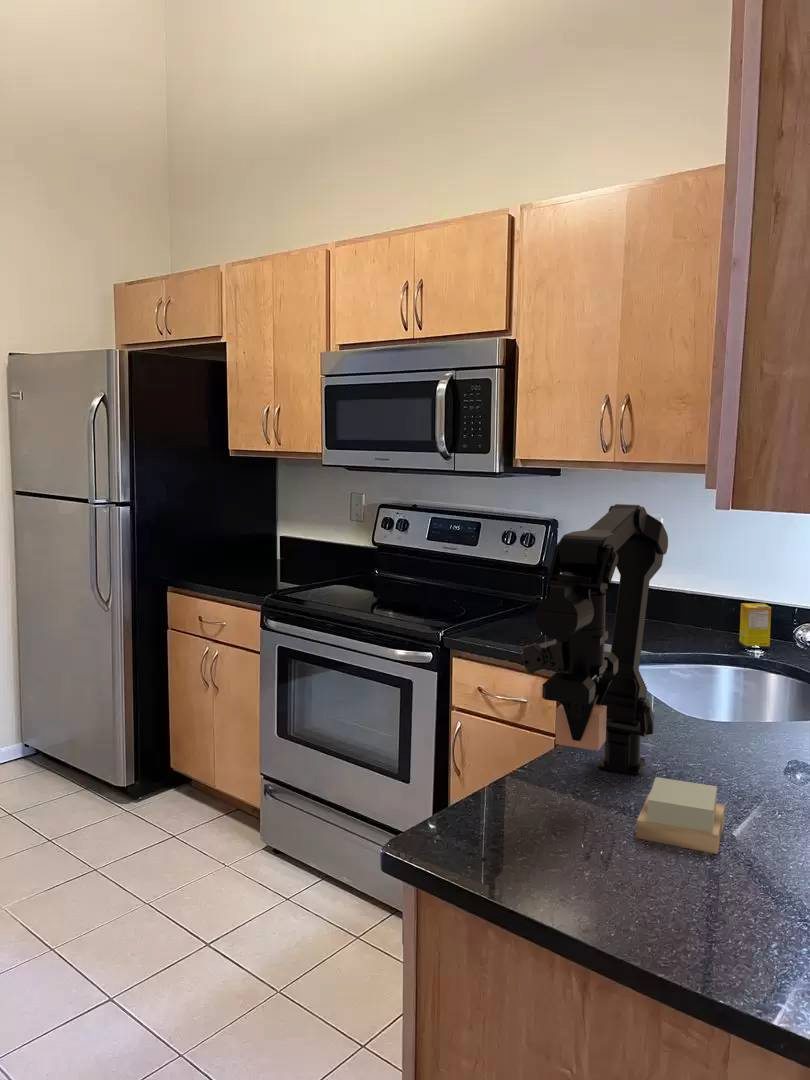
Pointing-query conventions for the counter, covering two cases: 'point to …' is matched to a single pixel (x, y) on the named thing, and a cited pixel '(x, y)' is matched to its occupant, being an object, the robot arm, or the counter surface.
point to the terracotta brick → (592, 734)
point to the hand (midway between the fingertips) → (581, 734)
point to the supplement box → (755, 625)
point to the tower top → (682, 804)
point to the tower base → (682, 832)
